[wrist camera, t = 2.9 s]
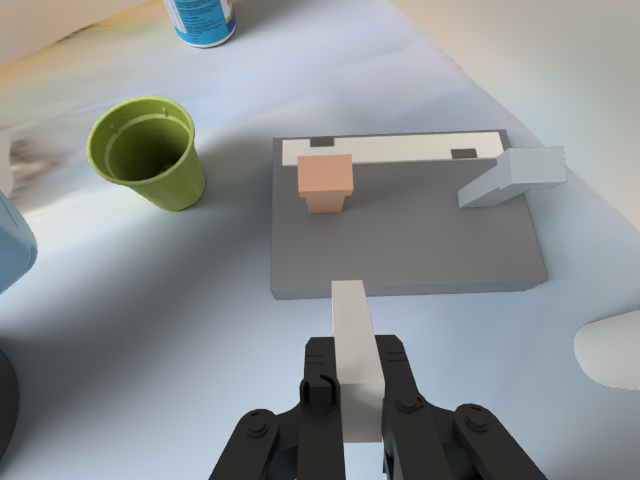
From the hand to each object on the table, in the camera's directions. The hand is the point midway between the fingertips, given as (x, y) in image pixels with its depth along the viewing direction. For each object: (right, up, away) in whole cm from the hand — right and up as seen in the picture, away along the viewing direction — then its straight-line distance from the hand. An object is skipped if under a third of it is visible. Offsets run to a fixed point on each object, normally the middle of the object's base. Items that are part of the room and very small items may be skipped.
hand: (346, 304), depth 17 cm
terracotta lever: (-1, +7, +15) cm, 17 cm away
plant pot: (-17, +9, +21) cm, 29 cm away
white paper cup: (+25, -7, +14) cm, 29 cm away
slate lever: (+13, +7, +15) cm, 21 cm away
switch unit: (+6, +5, +19) cm, 21 cm away
